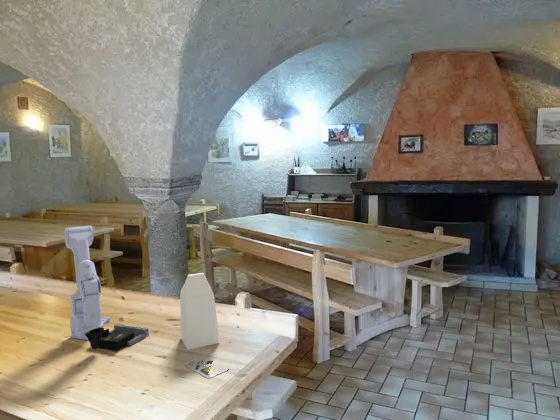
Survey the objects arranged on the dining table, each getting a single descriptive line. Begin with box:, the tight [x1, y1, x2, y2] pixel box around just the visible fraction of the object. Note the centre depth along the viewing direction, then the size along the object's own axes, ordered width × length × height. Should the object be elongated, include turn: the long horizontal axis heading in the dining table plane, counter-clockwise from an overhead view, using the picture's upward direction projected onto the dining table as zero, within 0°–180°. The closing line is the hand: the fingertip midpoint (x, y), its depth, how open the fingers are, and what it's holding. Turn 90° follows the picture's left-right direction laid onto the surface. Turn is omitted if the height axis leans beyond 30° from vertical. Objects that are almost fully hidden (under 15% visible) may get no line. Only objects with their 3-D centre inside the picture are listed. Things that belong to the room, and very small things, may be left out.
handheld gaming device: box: [184, 355, 214, 379], centre depth 155 cm, size 9×1×15 cm
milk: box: [179, 272, 220, 351], centre depth 176 cm, size 12×12×26 cm
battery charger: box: [89, 328, 136, 352], centre depth 176 cm, size 13×10×4 cm
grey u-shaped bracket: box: [109, 323, 150, 347], centre depth 182 cm, size 15×11×3 cm
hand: (95, 348), depth 168 cm, fingers closed
